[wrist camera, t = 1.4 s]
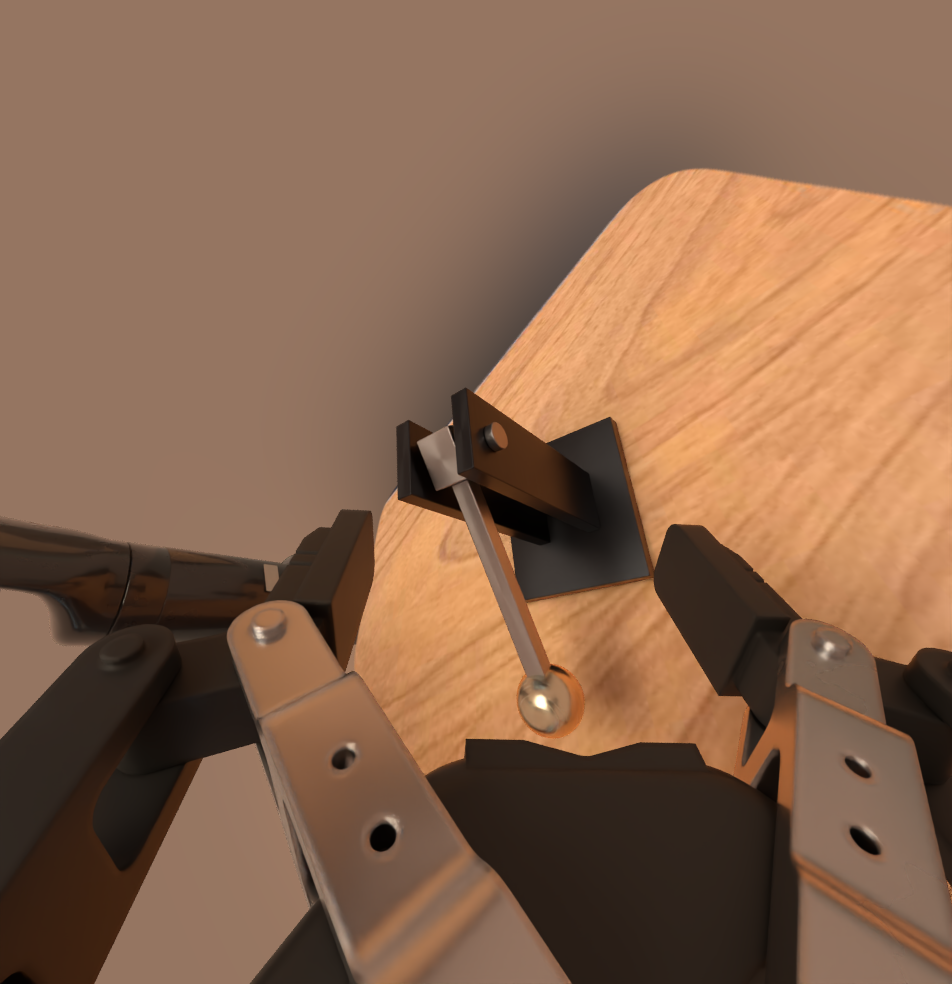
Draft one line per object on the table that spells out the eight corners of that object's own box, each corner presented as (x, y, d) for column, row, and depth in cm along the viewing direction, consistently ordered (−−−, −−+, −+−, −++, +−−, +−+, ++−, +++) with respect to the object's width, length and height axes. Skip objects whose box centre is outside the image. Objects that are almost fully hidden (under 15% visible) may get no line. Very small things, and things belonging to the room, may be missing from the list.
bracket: (655, 577, 28) (533, 534, 16) (526, 602, 34) (364, 583, 22) (615, 422, 33) (498, 301, 21) (508, 466, 38) (366, 389, 26)
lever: (602, 708, 23) (584, 756, 20) (545, 710, 25) (520, 754, 22) (487, 416, 23) (451, 420, 20) (438, 440, 25) (399, 447, 22)
